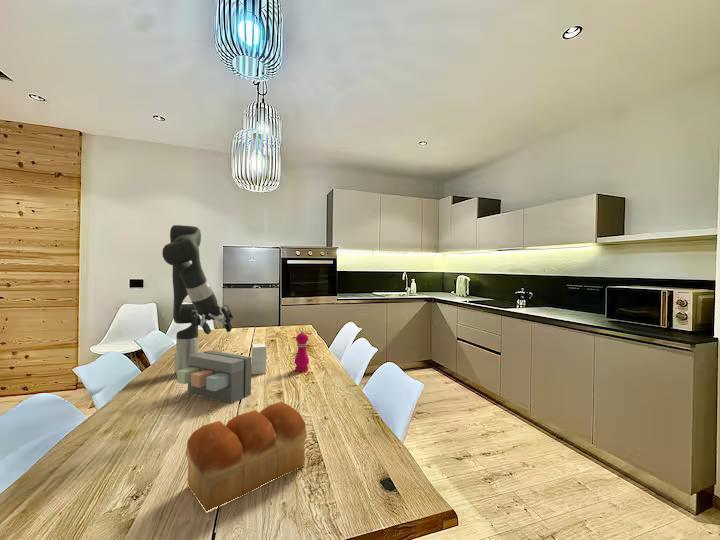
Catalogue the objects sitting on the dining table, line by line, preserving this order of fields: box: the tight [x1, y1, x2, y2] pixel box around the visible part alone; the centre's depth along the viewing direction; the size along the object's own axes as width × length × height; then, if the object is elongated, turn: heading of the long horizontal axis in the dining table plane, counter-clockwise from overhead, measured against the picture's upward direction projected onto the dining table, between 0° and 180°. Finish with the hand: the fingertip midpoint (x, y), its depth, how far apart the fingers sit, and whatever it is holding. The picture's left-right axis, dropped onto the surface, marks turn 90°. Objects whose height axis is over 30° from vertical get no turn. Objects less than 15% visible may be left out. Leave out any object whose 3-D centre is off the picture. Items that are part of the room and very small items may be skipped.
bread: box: [185, 401, 308, 511], centre depth 79 cm, size 25×12×15 cm, turn 135°
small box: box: [251, 342, 267, 376], centre depth 160 cm, size 8×6×13 cm
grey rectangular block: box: [206, 372, 229, 391], centre depth 121 cm, size 4×8×4 cm, turn 155°
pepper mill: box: [294, 329, 310, 372], centre depth 164 cm, size 7×7×20 cm
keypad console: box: [187, 349, 252, 405], centre depth 131 cm, size 24×10×15 cm, turn 65°
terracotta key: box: [191, 369, 214, 388], centre depth 125 cm, size 4×8×4 cm, turn 155°
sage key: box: [176, 366, 200, 385], centre depth 128 cm, size 4×8×4 cm, turn 155°
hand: (219, 331), depth 121 cm, fingers open, 8 cm apart
